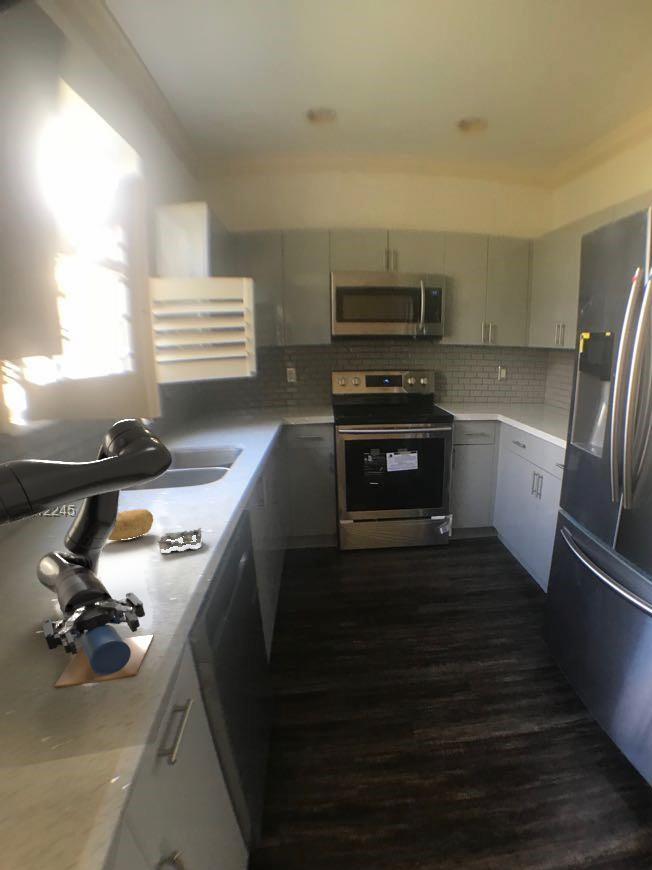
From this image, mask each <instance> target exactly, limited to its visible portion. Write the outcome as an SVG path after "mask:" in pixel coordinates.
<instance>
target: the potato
mask: <svg viewBox="0 0 652 870" xmlns="http://www.w3.org/2000/svg"><path fill="white" fill-rule="evenodd" d="M153 523H154V515H153V514H152V512H151V511H150V510H148V509H147V508H139V509H131V510H130V509H129V510H122V511H118V517H117V521H116V524H115V527H114V529H113V531H112V533H111V534H110V536H109V538H108V540H110V541H115V540H121V539H128V538H133V537H137V536H140V535H143V534H144V535H146V534H148V533H149V532H150V530H151V529H152V526H153ZM144 535H143V536H144ZM140 537H141V536H140Z"/></svg>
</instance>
